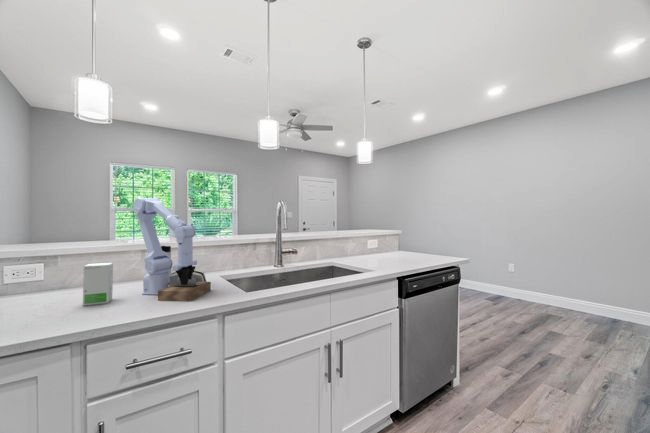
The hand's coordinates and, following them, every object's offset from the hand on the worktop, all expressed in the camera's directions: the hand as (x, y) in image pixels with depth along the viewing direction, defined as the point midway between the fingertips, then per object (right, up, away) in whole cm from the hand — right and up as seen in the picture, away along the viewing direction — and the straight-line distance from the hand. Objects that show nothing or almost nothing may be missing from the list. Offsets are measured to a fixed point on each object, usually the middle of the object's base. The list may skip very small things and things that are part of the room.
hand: (185, 283), depth 118 cm
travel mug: (-21, -5, +20) cm, 29 cm away
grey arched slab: (-6, -5, +13) cm, 15 cm away
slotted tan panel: (0, -5, 0) cm, 5 cm away
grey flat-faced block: (0, -5, 0) cm, 5 cm away
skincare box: (-31, -6, -9) cm, 33 cm away
